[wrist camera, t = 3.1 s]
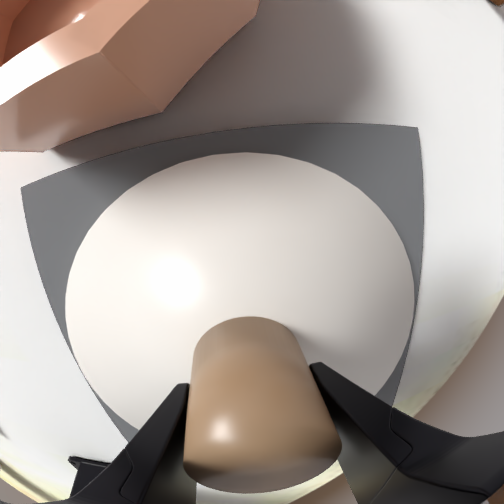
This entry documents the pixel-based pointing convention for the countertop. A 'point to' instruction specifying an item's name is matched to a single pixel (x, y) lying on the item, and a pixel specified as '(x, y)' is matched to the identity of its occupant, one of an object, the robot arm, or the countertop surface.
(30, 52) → the bowl
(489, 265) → the countertop surface
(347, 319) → the lid
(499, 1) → the pancake mix bag
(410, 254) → the mat
